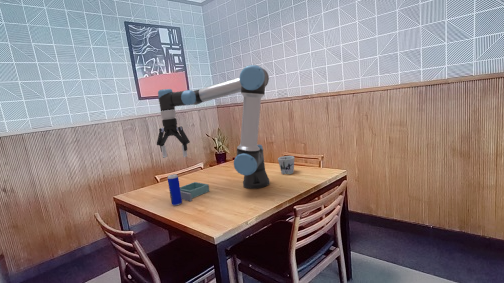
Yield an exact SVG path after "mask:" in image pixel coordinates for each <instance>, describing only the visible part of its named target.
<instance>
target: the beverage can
mask: <svg viewBox="0 0 504 283" xmlns="http://www.w3.org/2000/svg"><path fill="white" fill-rule="evenodd" d="M179 179H180V178H179V176H178V174H177V173H175V174H174V173H173V174H169V175H168V176H167V183H168V189H169V196H170V201H171V205H172V206H174V207H175V206H180V205H182V203H183V199H182V198H181V192H180V187H181V185H180V181H179Z"/></svg>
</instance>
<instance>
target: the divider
mask: <svg viewBox="0 0 504 283" xmlns="http://www.w3.org/2000/svg"><path fill="white" fill-rule="evenodd" d="M180 192H181V198H182V201H183V200H184V201H187V202H193V198H192V195H191V193H187V192H183V191H180Z"/></svg>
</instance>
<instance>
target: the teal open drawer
mask: <svg viewBox="0 0 504 283" xmlns="http://www.w3.org/2000/svg"><path fill="white" fill-rule="evenodd" d="M180 191H183V192H187V193H191V195H192V199H194V198H196V197H198V196H201V195H204V194H206V193H208V192H210V187H209V184H208V183H202V182H198V181H194V182H191V183H188V184H185V185H181V186H180Z"/></svg>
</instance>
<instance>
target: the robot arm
mask: <svg viewBox="0 0 504 283" xmlns="http://www.w3.org/2000/svg"><path fill="white" fill-rule="evenodd" d="M269 80H270V78H269V73H268V71H267V70H266V69H264V68H263V67H261V66H260V65H257V64H251V65H250V64H249V65H247V66H245V67H244V68H243V69H242V70H241V71H240V73H239V77H236V78H233V79H229V80H226V81H223V82H220V83H216V84H213V85H209V86H206V87H202V88H199V89H196V90H188V89H186V90H182V91H180V90H179V91H173V89H172V88H165V89H159V90H158V92H157V95H158V97H157V98H158V102H159V108H160V109H159V110H160V115H161V116H160V117H161V119H162V120H161V123H162V127H160V128H158V137H157V141H156V145H157V146H159V148H160V151H161V153H162V158H167V157H168V154H167V148H166V146H167V145H165V144H166V142H167V140H168V138H169V137H172V136H174V137H175V138H176V139H177V141H179V142H180V144H182V145H181V151H182V157H183V158H186V157H188V152H187V151H188V144H189V143H190V140H189V138H188V136H187V134H186V133H185V131H184V129H183V126H182V125H181V126H178V119H177V118H176V117H177V113H176V107H183V106H191V105H193V106H196V105H200V104H202V103H206V102H209V101H213V100H216V99H220V98H223V97H227V96H230V95H235V94H237V93H240V94H241V95H242V96H243V99H242V100H243V101H242V103H243V104H242V116H241V131H240V143H239V145H237V148H236V156H235V158H234V159H233V167H234V169H235V171H236V172H237V174H240V175H242V176H243V181H242V186H243V188H245V189H250V190H251V189H253V190H255V189H261V188H265V187H267V186H269V185H270V183H271V182H270V178H269V176H268V174H267V172H266V165H265V157H264V149H263V145H262V144H258V138H259V129H260V128H259V125H260V114H261V105H262V103H261V102H262V98H263V97H264V96H265V94H266V93H265V90H266V87H267V86H268V84H269V82H270V81H269Z"/></svg>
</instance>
